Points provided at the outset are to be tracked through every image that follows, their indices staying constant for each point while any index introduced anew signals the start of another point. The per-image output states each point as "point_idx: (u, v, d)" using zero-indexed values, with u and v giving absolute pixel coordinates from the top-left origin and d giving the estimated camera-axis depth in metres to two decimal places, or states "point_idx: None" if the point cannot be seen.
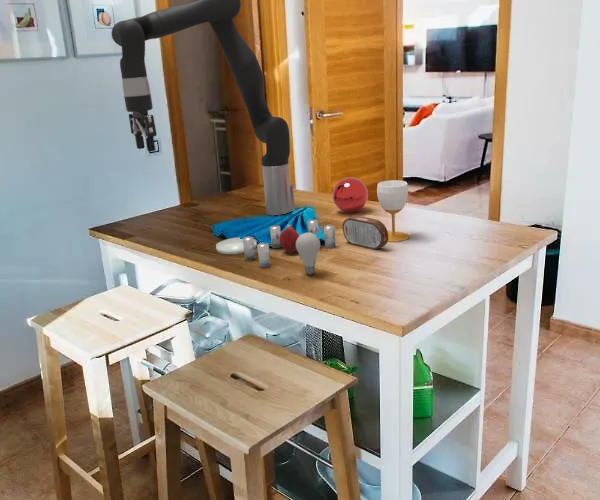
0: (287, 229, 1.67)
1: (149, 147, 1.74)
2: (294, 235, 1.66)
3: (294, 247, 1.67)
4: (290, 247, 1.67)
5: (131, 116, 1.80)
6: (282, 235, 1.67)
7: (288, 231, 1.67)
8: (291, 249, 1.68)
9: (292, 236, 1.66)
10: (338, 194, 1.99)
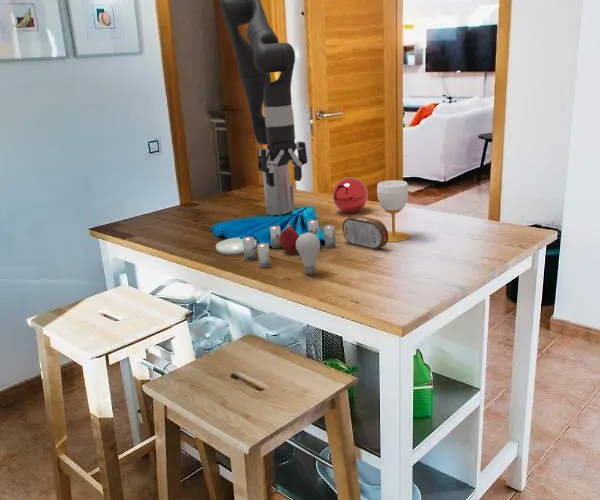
0: (287, 229, 1.67)
1: (300, 176, 1.65)
2: (294, 235, 1.66)
3: (294, 247, 1.67)
4: (290, 247, 1.67)
5: None
6: (282, 235, 1.67)
7: (288, 231, 1.67)
8: (291, 249, 1.68)
9: (292, 236, 1.66)
10: (338, 194, 1.99)
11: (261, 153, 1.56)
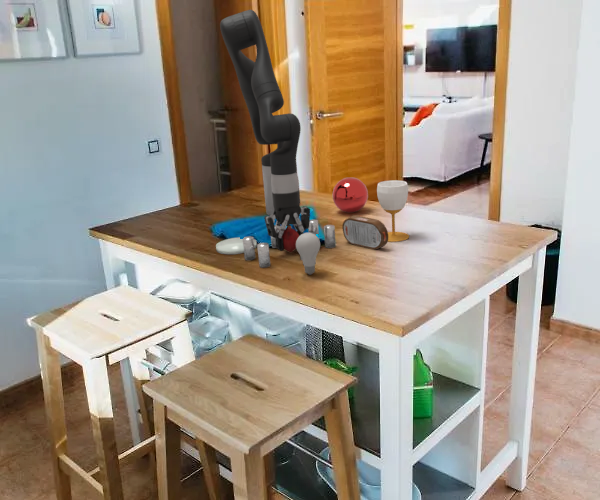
0: (287, 229, 1.67)
1: None
2: (294, 235, 1.66)
3: (294, 247, 1.67)
4: (290, 247, 1.67)
5: None
6: (282, 235, 1.67)
7: (288, 231, 1.67)
8: (291, 249, 1.68)
9: (292, 236, 1.66)
10: (338, 194, 1.99)
11: (268, 221, 1.62)
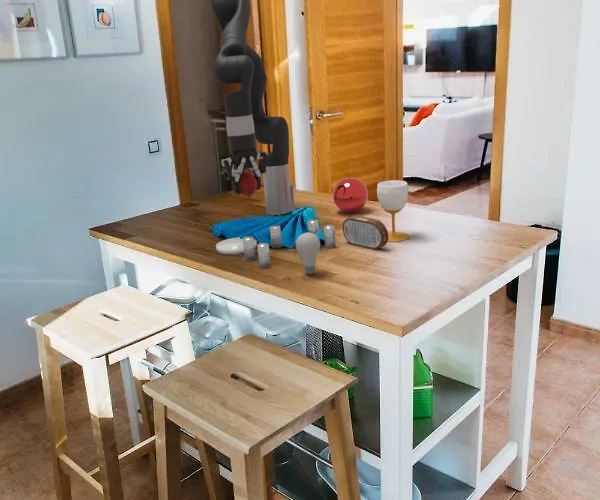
0: (244, 173, 1.68)
1: (260, 185, 1.72)
2: (251, 178, 1.67)
3: (251, 191, 1.68)
4: (248, 191, 1.68)
5: None
6: (239, 179, 1.68)
7: (245, 175, 1.67)
8: (248, 193, 1.69)
9: (249, 180, 1.67)
10: (338, 194, 1.99)
11: (224, 164, 1.63)
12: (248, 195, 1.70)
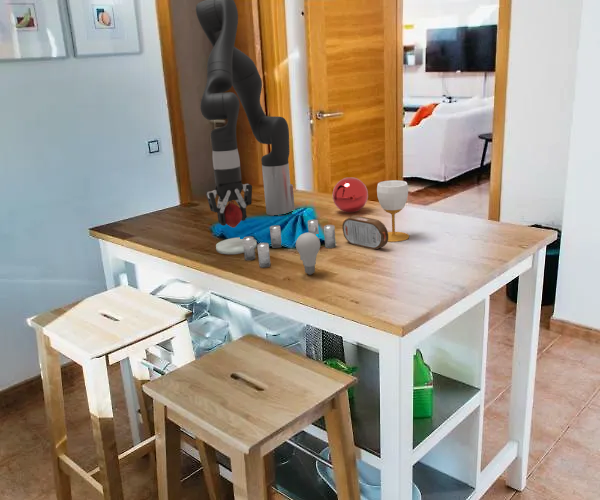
0: (229, 205, 1.73)
1: (245, 216, 1.76)
2: (235, 210, 1.72)
3: (236, 222, 1.73)
4: (232, 222, 1.73)
5: None
6: (224, 210, 1.73)
7: (230, 206, 1.72)
8: (233, 224, 1.73)
9: (234, 211, 1.72)
10: (338, 194, 1.99)
11: (209, 196, 1.68)
12: (233, 226, 1.74)
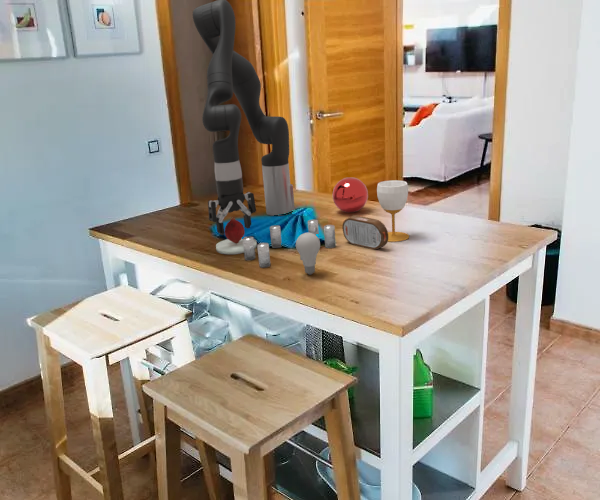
0: (231, 221, 1.75)
1: (250, 223, 1.78)
2: (237, 226, 1.74)
3: (238, 238, 1.75)
4: (235, 238, 1.74)
5: None
6: (226, 227, 1.75)
7: (231, 222, 1.74)
8: (236, 240, 1.75)
9: (235, 227, 1.74)
10: (338, 194, 1.99)
11: (211, 205, 1.69)
12: (236, 241, 1.76)
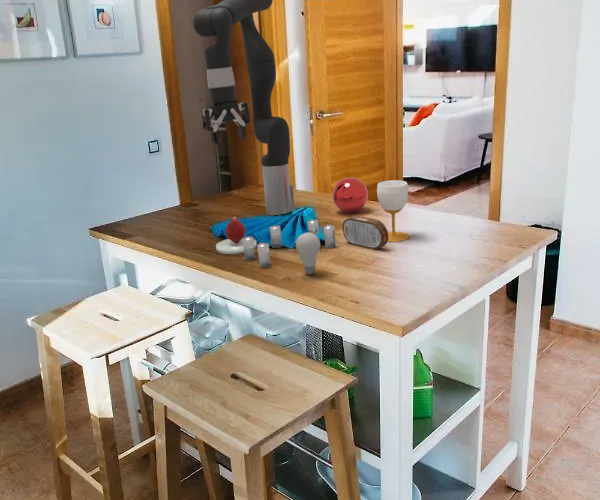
0: (233, 220, 1.75)
1: (244, 134, 1.76)
2: (239, 226, 1.74)
3: (239, 238, 1.75)
4: (235, 238, 1.74)
5: None
6: (228, 226, 1.75)
7: (233, 222, 1.74)
8: (236, 240, 1.75)
9: (237, 227, 1.74)
10: (338, 194, 1.99)
11: (204, 113, 1.67)
12: (236, 242, 1.76)
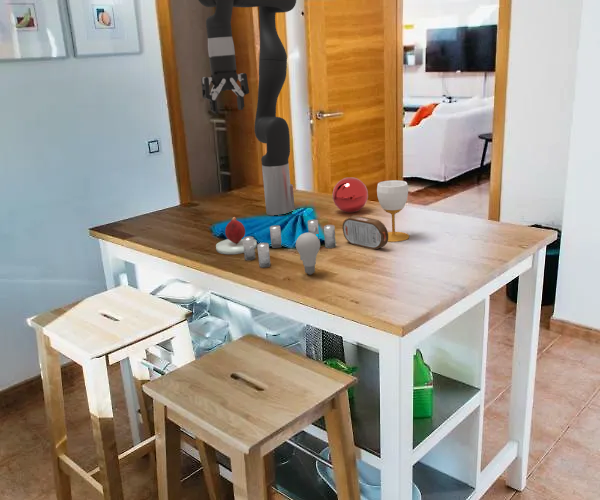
0: (232, 221, 1.74)
1: (243, 105, 1.80)
2: (238, 227, 1.74)
3: (238, 238, 1.75)
4: (235, 239, 1.74)
5: None
6: (227, 227, 1.74)
7: (232, 223, 1.74)
8: (236, 240, 1.75)
9: (236, 228, 1.74)
10: (338, 194, 1.99)
11: (204, 81, 1.72)
12: (236, 242, 1.76)
